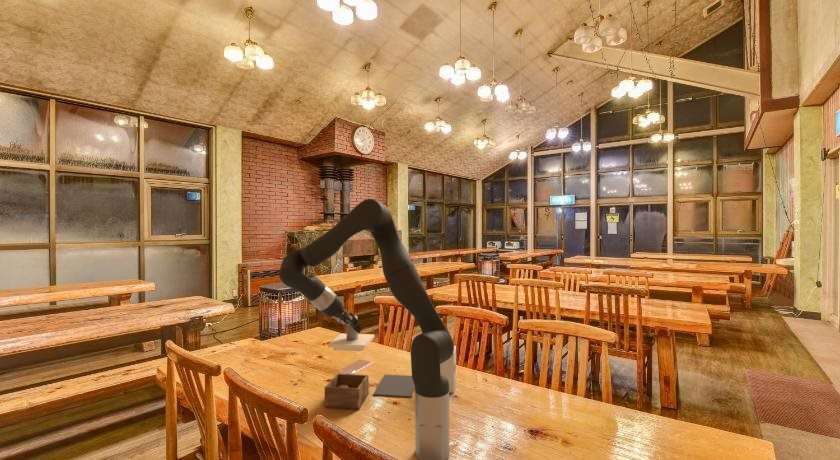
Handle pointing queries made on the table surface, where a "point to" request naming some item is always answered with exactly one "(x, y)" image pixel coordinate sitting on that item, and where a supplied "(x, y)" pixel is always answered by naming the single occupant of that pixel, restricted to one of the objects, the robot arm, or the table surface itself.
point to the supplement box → (450, 371)
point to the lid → (351, 340)
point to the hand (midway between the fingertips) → (356, 329)
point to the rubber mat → (395, 386)
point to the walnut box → (346, 391)
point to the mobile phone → (355, 367)
